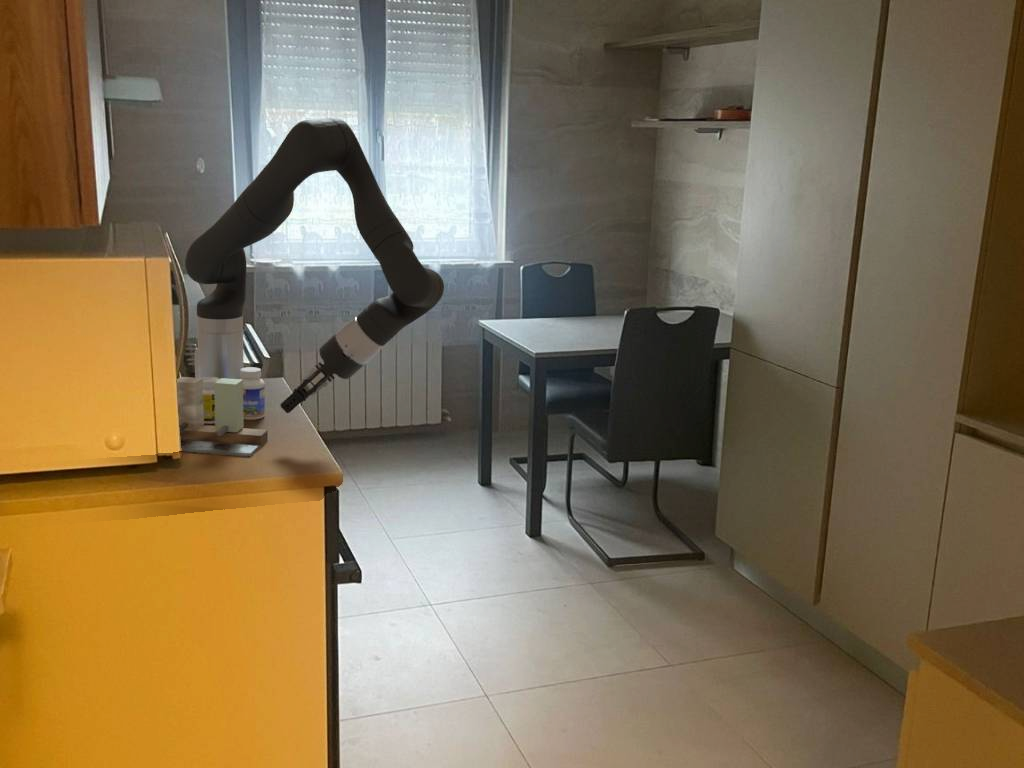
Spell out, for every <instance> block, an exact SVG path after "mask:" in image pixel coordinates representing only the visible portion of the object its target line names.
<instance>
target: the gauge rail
mask: <svg viewBox="0 0 1024 768" xmlns="http://www.w3.org/2000/svg"><path fill="white" fill-rule="evenodd" d="M176 380H177V390H178V413H179V427H180V436H181V439H188V440H202V441H215V442H229V443H242V444H255V445H260V447H262V446H263V445H264V444H266V442H268V429H259V428H245V427H243V428H241V429H240V430H239V431H238V432H225V433H224V434H223V435H222V436H218V435H217V431H215V425H208V424H206V425H205V424H204V410H203V378H195V377H188V376H181V377H179V378H177V379H176Z"/></svg>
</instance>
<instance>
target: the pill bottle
mask: <svg viewBox="0 0 1024 768" xmlns="http://www.w3.org/2000/svg"><path fill="white" fill-rule="evenodd" d="M240 377H241V379H242V380H243V417H244V420H246V421H254V420H260V419H263V418H264V417H265V413H266V412H265V410H266V409H265V408H266V405H265V402H266V399H265V397H266V393H265V391H266V389H265V388H266V386H265V384H266V383H265V381H264V380H263V379H262V378H261V377H262V369H261V368H259V367H253V366H249V367H247V366H246V367H243V368H242V369H240Z"/></svg>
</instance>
